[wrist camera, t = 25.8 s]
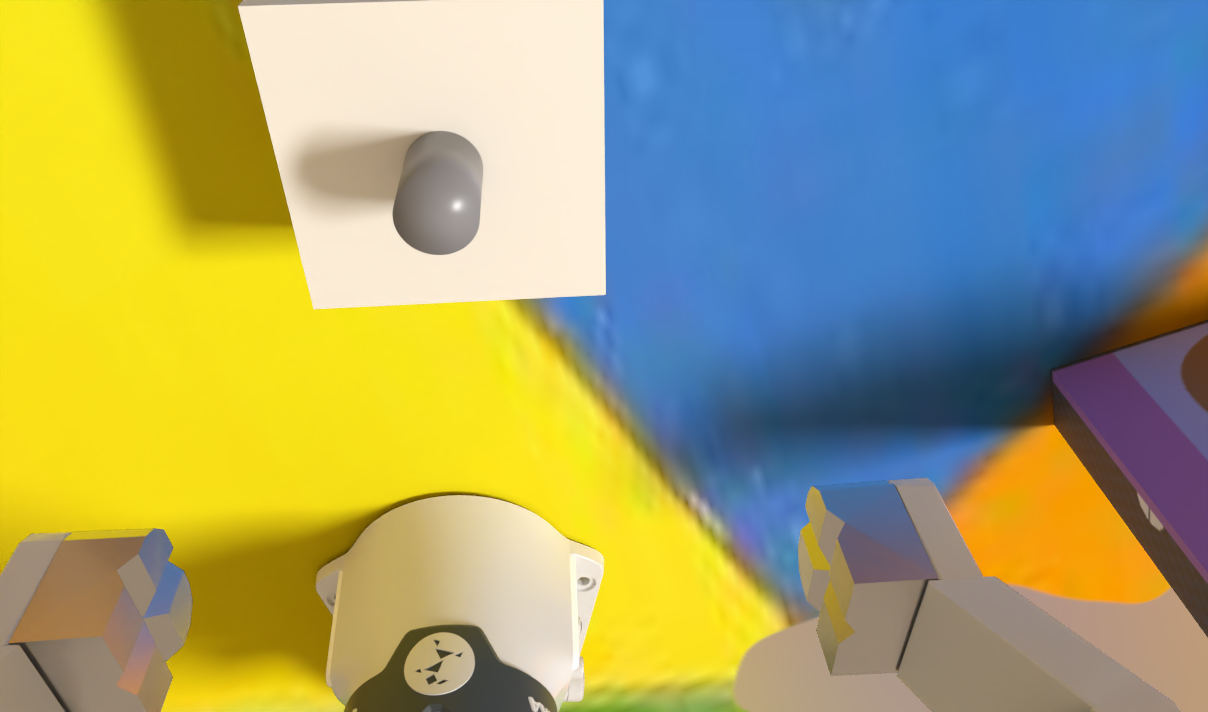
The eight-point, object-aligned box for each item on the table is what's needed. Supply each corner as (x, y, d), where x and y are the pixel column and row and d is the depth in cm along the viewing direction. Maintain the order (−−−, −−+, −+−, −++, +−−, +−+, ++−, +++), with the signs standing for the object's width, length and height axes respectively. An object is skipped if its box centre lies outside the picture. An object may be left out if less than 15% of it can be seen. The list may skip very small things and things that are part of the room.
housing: (594, 216, 44) (613, 350, 35) (340, 228, 43) (294, 367, 34) (590, -54, 36) (613, 31, 27) (281, -45, 35) (204, 44, 27)
